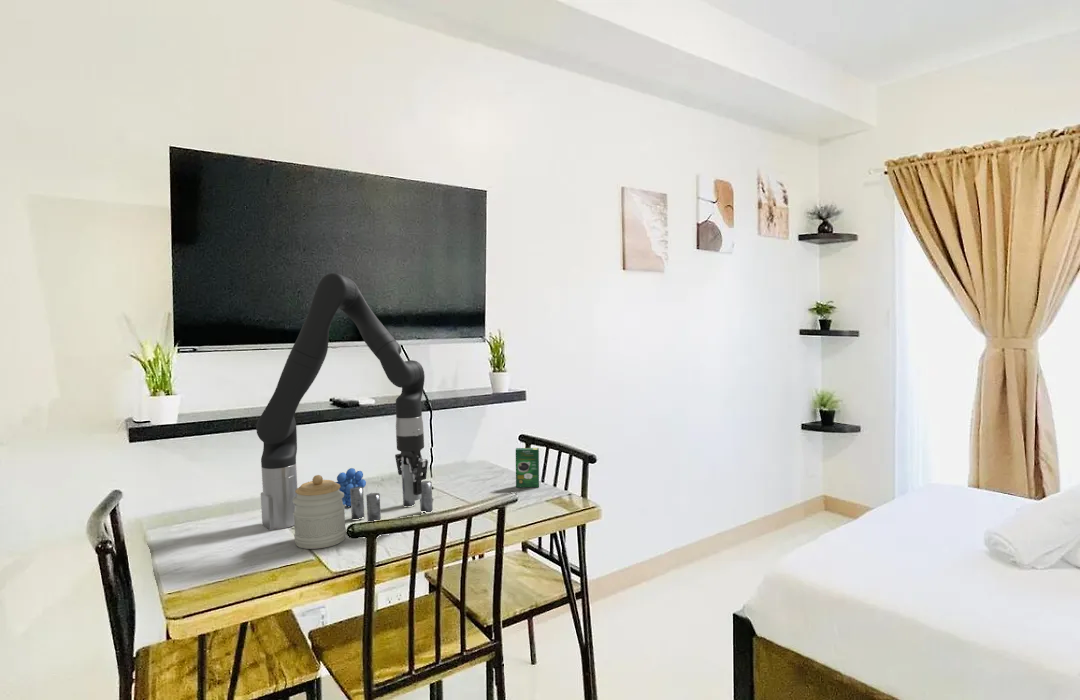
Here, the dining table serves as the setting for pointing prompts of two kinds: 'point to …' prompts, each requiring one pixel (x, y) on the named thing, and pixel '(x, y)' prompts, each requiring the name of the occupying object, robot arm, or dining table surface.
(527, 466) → the coffee box
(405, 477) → the hollow grey tube
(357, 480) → the grapes
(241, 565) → the dining table surface
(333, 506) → the jar
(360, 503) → the spacer posts
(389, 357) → the robot arm
